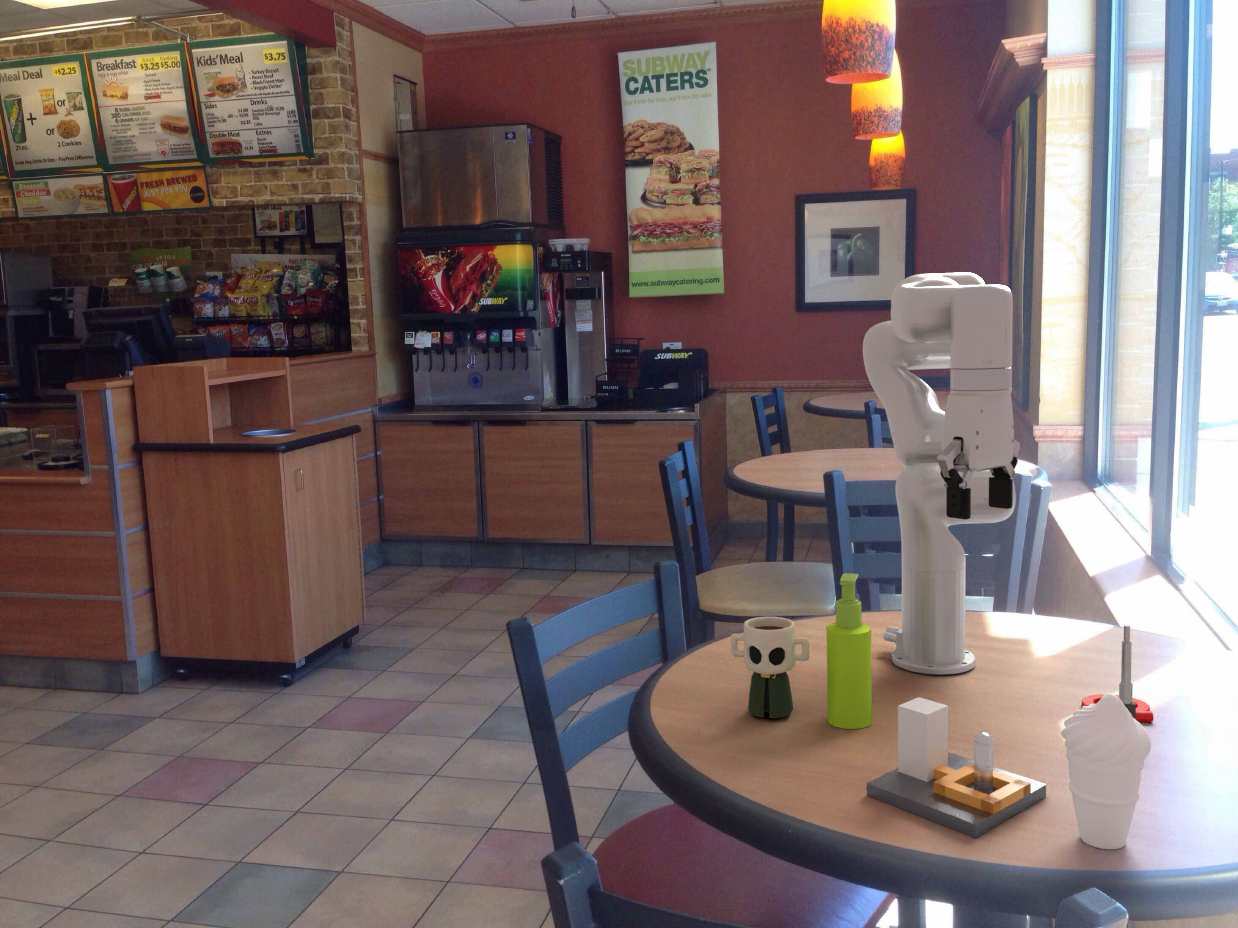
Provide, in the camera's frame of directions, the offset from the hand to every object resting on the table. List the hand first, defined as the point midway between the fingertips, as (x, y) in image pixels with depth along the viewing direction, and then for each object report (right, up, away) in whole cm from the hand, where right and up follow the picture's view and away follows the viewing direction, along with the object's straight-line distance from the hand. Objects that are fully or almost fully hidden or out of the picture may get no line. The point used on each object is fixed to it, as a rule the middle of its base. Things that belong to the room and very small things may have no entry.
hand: (979, 512), depth 139 cm
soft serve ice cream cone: (+3, -33, -30) cm, 44 cm away
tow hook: (+20, -27, +5) cm, 35 cm away
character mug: (-26, -29, +9) cm, 40 cm away
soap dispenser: (-16, -29, +5) cm, 33 cm away
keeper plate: (-9, -31, -18) cm, 37 cm away
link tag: (-9, -30, -19) cm, 36 cm away
